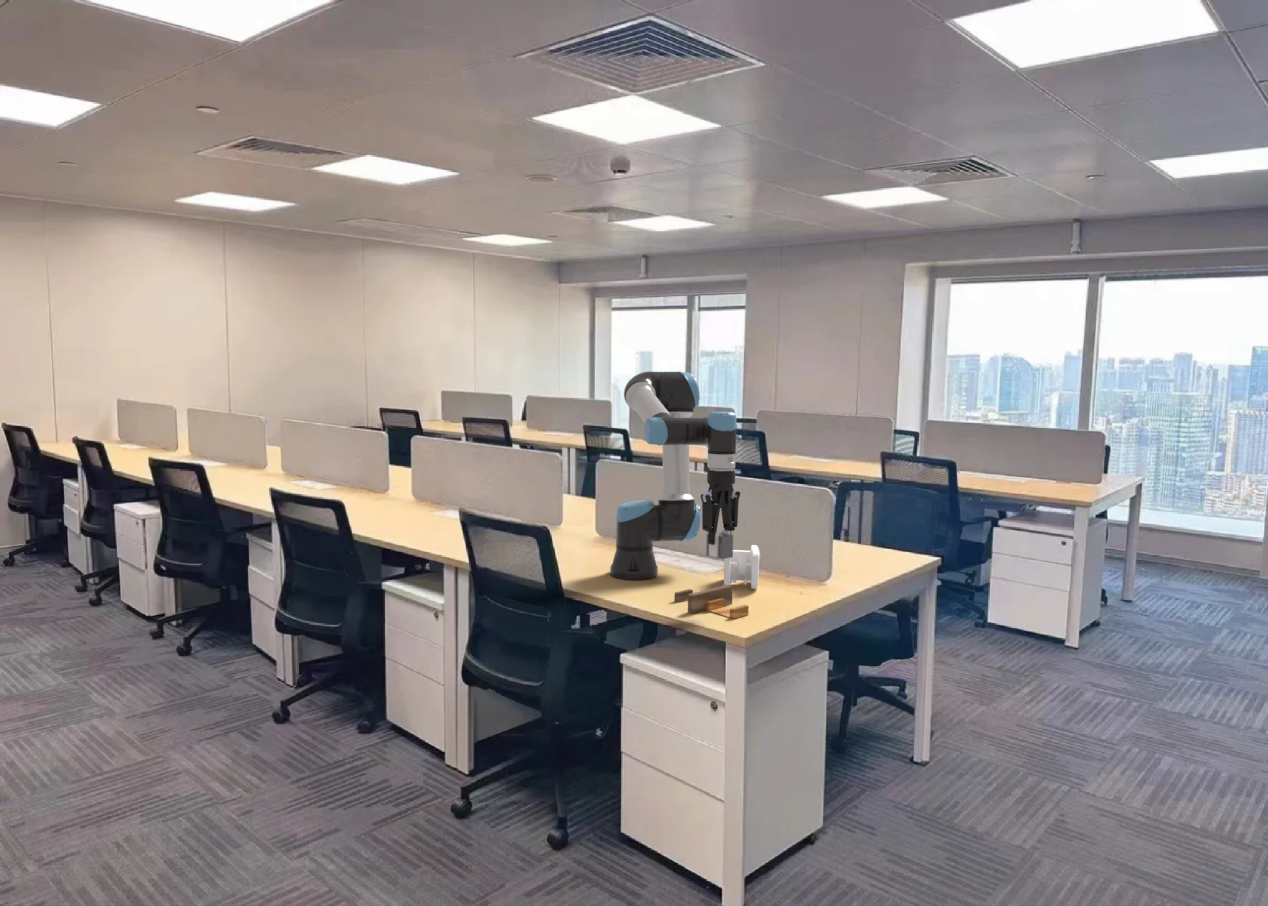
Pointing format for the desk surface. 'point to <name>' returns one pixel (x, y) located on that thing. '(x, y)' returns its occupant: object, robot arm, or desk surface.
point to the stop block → (723, 546)
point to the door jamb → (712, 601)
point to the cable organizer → (743, 567)
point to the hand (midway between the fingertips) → (719, 554)
